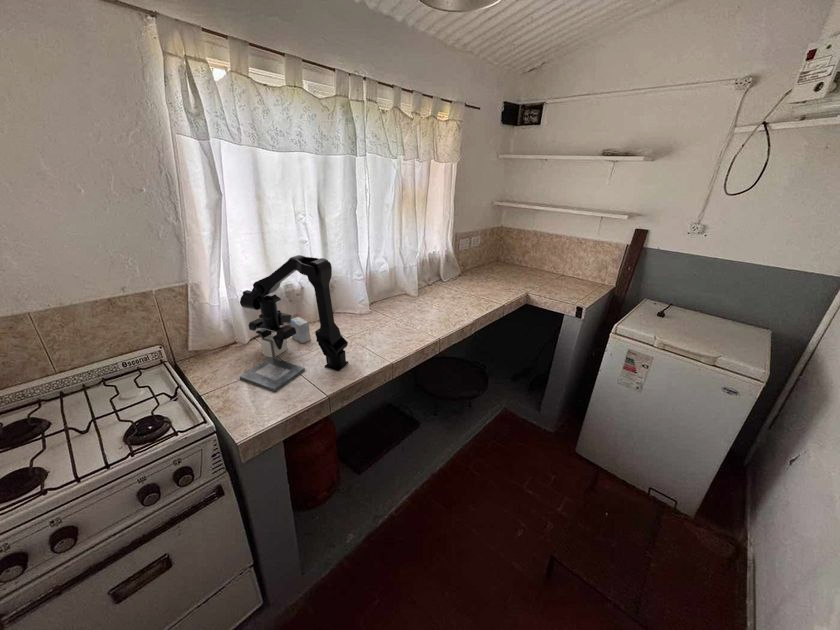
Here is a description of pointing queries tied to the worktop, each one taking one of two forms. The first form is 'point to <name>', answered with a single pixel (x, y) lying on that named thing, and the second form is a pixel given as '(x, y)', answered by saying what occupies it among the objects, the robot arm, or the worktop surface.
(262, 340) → the light grey block
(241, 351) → the worktop surface
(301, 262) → the robot arm
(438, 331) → the worktop surface
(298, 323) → the medicine box
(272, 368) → the duct plate
